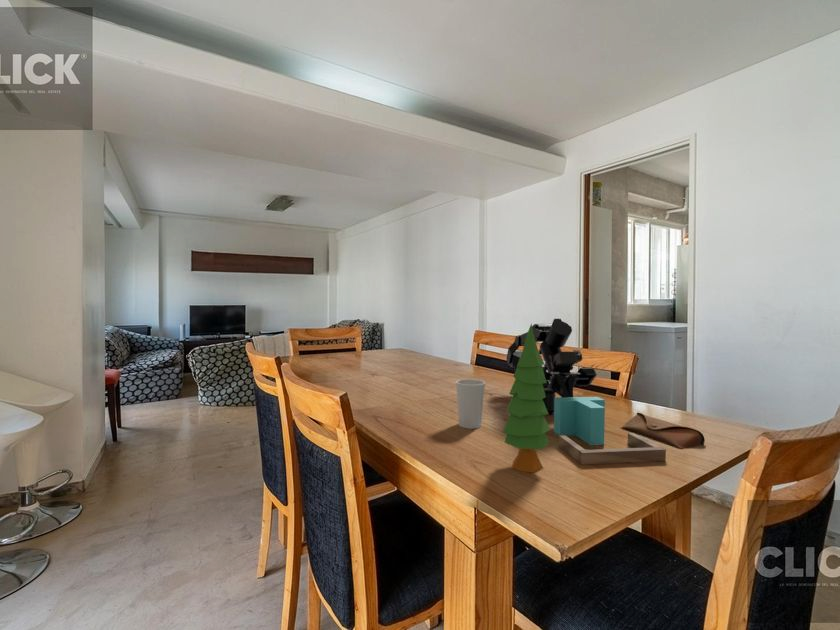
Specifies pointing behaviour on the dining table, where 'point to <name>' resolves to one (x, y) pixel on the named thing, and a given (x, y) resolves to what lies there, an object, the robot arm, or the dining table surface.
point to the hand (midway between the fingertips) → (570, 403)
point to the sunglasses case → (665, 431)
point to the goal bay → (615, 451)
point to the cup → (470, 402)
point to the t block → (580, 418)
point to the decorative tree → (527, 408)
